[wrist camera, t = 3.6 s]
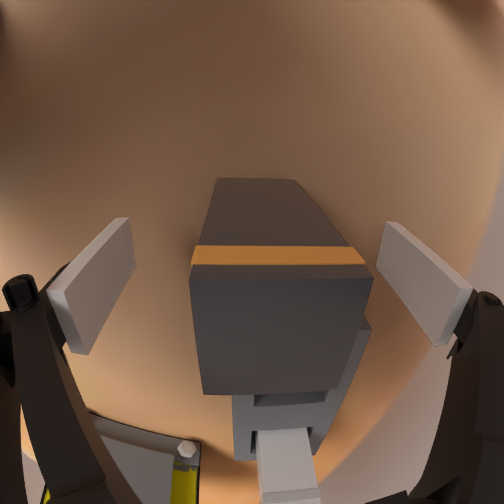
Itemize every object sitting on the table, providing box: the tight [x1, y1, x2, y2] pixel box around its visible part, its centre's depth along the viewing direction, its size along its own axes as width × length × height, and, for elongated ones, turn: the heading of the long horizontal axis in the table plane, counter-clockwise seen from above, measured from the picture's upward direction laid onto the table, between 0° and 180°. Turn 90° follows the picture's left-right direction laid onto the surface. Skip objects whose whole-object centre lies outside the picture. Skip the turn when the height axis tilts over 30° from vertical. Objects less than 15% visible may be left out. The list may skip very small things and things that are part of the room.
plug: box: [189, 178, 374, 395], centre depth 13 cm, size 5×5×11 cm
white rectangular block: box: [255, 427, 321, 504], centre depth 21 cm, size 5×5×11 cm
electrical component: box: [40, 413, 201, 504], centre depth 21 cm, size 18×10×20 cm, turn 71°
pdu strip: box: [232, 314, 372, 461], centre depth 23 cm, size 20×9×4 cm, turn 178°
